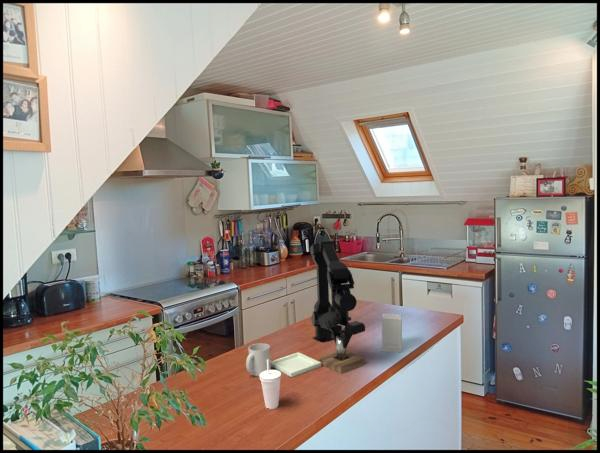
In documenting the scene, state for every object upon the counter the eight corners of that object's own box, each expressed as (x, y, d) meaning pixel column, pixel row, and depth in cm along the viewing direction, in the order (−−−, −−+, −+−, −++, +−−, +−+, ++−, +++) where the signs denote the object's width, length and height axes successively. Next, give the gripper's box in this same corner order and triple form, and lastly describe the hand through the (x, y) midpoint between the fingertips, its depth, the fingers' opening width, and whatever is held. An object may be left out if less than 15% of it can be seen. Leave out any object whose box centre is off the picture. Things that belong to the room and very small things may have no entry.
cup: (275, 370, 159) (273, 345, 158) (255, 381, 151) (254, 355, 150) (259, 366, 163) (258, 341, 162) (239, 376, 155) (238, 351, 154)
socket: (319, 364, 162) (319, 357, 162) (342, 355, 169) (342, 349, 169) (340, 373, 154) (340, 366, 153) (364, 364, 160) (364, 357, 160)
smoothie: (260, 401, 137) (258, 356, 135) (282, 399, 137) (280, 354, 136) (260, 412, 130) (258, 364, 129) (283, 410, 131) (281, 363, 129)
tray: (269, 365, 163) (269, 361, 162) (298, 356, 170) (298, 352, 170) (291, 377, 152) (291, 373, 152) (321, 366, 160) (321, 362, 160)
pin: (334, 355, 161) (334, 335, 160) (341, 353, 163) (341, 332, 162) (341, 358, 159) (340, 337, 158) (348, 356, 161) (347, 335, 160)
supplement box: (402, 352, 170) (401, 319, 168) (381, 351, 171) (381, 318, 170) (401, 345, 177) (401, 313, 176) (382, 344, 178) (381, 312, 177)
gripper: (304, 302, 161) (306, 345, 163) (341, 313, 147) (342, 360, 148) (328, 296, 168) (330, 337, 170) (365, 306, 153) (366, 351, 155)
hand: (341, 346), depth 161 cm, fingers closed on pin, 3 cm apart
